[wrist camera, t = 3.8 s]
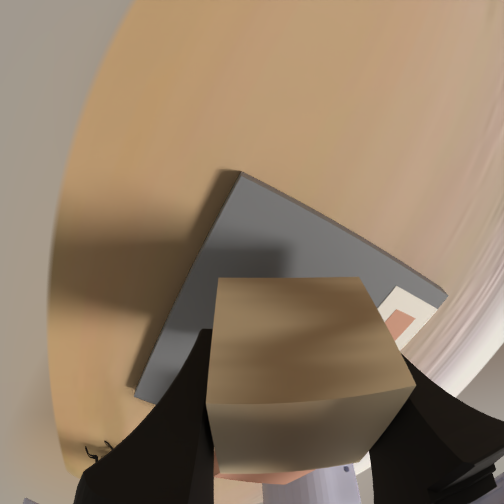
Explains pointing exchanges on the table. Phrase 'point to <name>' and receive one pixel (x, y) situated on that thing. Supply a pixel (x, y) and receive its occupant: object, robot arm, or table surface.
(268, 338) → the maple block
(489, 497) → the robot arm
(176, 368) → the build board
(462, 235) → the table surface
